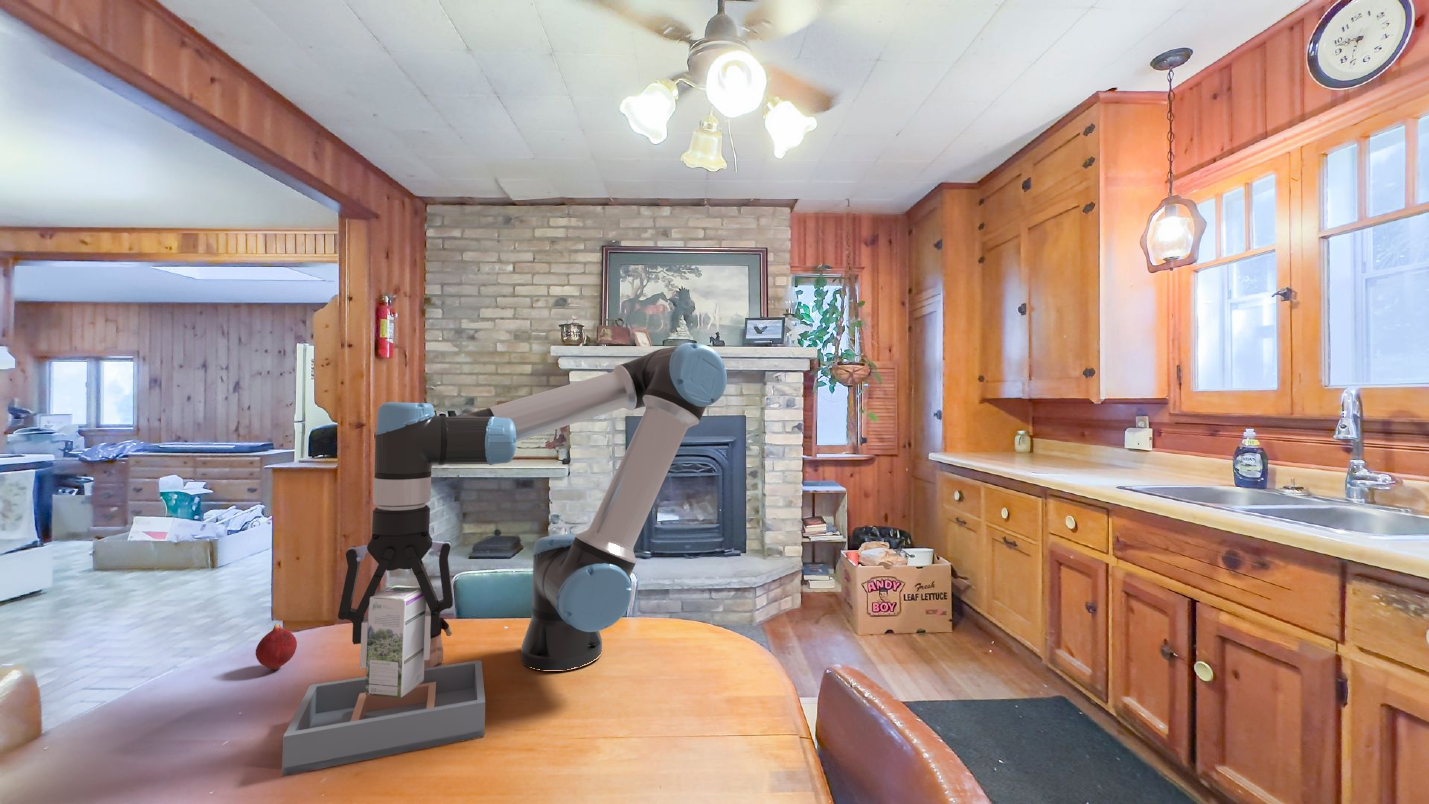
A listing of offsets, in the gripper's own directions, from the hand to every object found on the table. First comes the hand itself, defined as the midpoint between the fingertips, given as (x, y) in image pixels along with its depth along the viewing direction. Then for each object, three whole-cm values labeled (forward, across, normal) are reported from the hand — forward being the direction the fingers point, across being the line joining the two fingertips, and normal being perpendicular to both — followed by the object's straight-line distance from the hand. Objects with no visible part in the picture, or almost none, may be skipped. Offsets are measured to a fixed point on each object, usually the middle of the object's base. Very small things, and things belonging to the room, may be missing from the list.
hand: (396, 660), depth 85 cm
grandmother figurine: (+10, -4, -18) cm, 21 cm away
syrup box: (+4, 0, 0) cm, 4 cm away
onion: (+10, +21, -28) cm, 37 cm away
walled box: (+10, 0, 0) cm, 10 cm away
